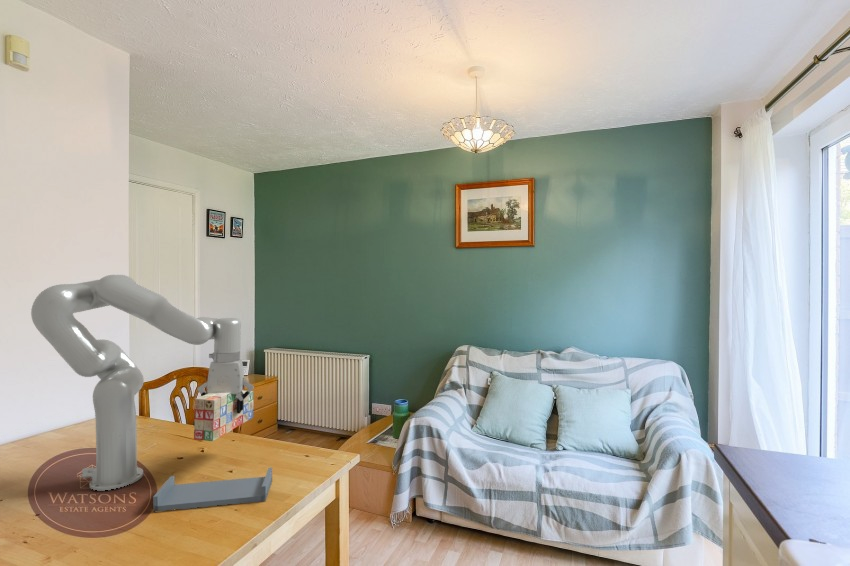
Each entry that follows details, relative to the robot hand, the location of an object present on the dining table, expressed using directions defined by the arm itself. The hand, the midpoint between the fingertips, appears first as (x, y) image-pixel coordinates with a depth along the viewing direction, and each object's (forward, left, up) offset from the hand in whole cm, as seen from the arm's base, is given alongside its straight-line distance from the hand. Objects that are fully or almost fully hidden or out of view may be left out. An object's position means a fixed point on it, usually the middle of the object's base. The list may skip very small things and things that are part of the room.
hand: (225, 412), depth 131 cm
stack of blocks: (0, 0, -5) cm, 5 cm away
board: (+3, -19, -17) cm, 26 cm away
